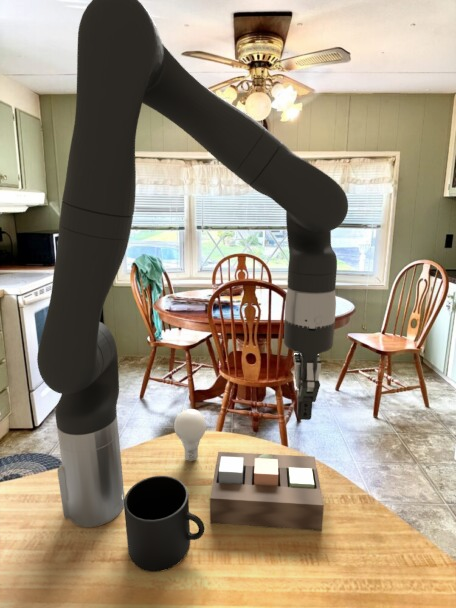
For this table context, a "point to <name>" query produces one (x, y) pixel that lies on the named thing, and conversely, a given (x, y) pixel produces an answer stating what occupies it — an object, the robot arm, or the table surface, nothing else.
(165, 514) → the mug
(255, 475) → the terracotta button
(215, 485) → the console
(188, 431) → the lightbulb
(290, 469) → the sage button
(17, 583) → the table surface
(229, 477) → the slate button
